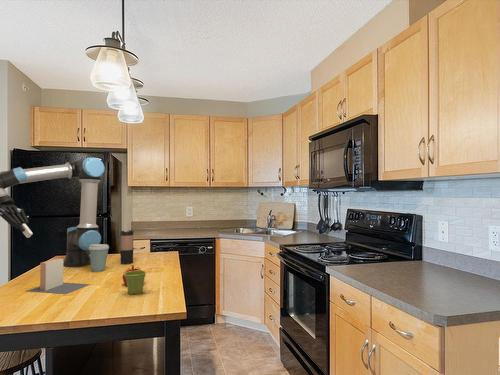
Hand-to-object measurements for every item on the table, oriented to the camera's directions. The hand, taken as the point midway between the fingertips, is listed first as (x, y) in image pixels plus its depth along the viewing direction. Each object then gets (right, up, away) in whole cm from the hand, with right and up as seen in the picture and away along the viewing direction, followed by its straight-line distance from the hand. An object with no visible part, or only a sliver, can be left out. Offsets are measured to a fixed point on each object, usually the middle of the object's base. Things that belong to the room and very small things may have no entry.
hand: (29, 235), depth 157 cm
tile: (+13, -23, -4) cm, 27 cm away
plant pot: (+53, -24, -11) cm, 59 cm away
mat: (+17, -24, -5) cm, 29 cm away
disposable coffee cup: (+19, -24, +31) cm, 43 cm away
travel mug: (+27, -25, +51) cm, 63 cm away
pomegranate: (+48, -24, +3) cm, 54 cm away
